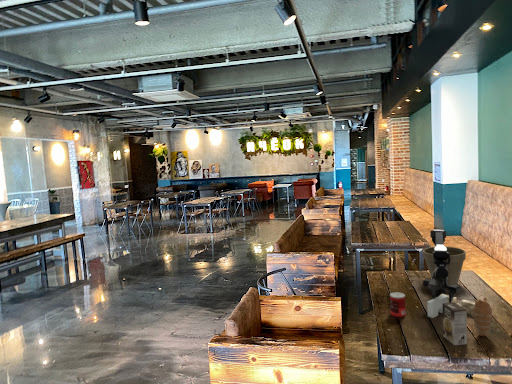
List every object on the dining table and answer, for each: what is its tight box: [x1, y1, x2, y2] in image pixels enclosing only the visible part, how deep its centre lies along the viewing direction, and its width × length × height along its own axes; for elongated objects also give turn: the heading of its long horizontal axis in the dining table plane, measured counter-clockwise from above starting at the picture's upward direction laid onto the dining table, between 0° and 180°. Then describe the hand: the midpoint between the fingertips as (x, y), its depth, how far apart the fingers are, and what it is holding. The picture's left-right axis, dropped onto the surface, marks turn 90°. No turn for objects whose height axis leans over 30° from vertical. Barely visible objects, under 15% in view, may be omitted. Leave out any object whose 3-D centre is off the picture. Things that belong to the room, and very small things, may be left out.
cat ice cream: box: [472, 296, 493, 337], centre depth 178 cm, size 9×8×18 cm
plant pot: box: [422, 246, 467, 286], centre depth 250 cm, size 25×25×22 cm
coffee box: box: [442, 302, 468, 346], centre depth 176 cm, size 9×6×16 cm
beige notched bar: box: [440, 294, 476, 317], centre depth 208 cm, size 20×6×6 cm, turn 35°
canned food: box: [389, 291, 407, 318], centre depth 207 cm, size 8×8×11 cm
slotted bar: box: [426, 295, 448, 319], centre depth 206 cm, size 14×3×8 cm, turn 125°
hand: (441, 301), depth 208 cm, fingers open, 9 cm apart
